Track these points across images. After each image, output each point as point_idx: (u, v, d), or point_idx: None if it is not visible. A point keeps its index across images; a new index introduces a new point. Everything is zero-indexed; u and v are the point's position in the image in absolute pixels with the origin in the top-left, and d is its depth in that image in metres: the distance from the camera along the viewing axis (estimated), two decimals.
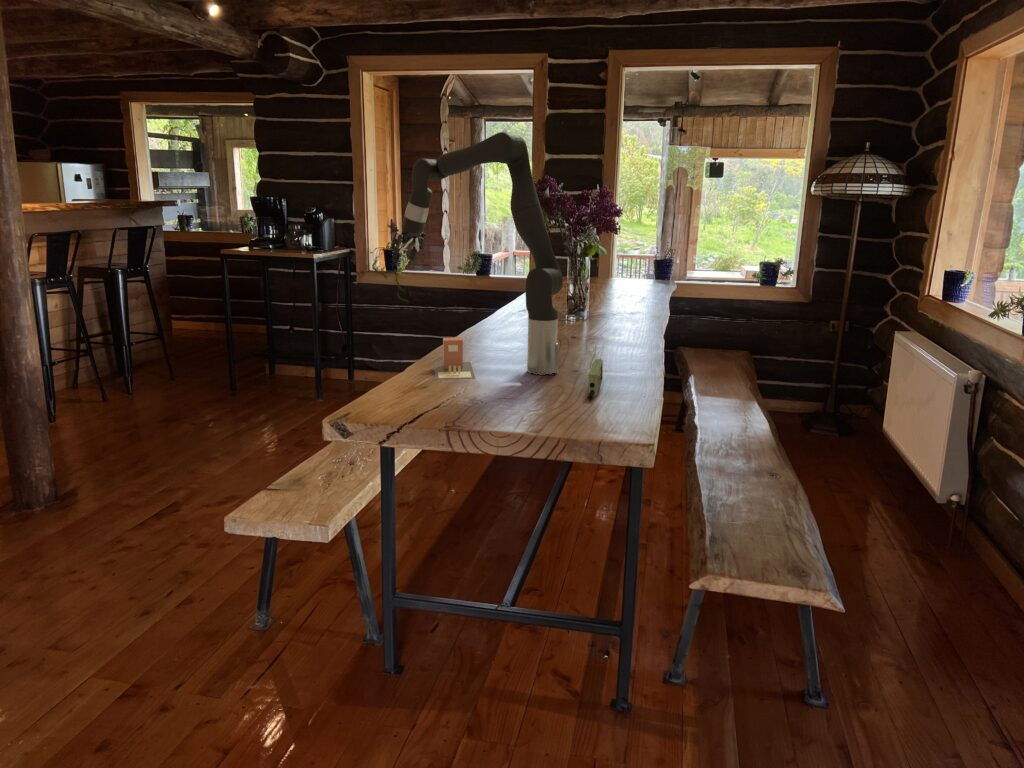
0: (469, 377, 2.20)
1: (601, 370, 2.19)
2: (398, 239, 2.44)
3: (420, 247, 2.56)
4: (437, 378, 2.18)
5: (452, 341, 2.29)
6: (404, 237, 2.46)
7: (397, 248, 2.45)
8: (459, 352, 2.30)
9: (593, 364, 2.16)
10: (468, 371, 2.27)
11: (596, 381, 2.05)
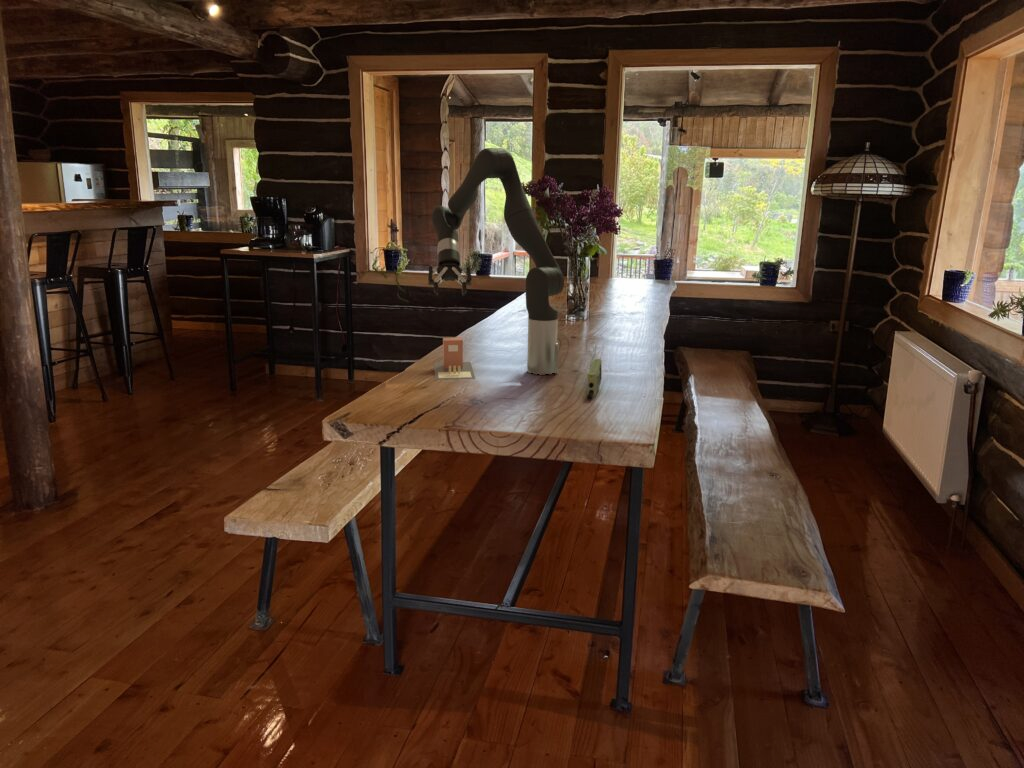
0: (469, 377, 2.20)
1: (600, 370, 2.19)
2: None
3: (468, 279, 2.41)
4: (437, 378, 2.18)
5: (452, 341, 2.29)
6: (437, 269, 2.42)
7: (430, 277, 2.40)
8: (459, 352, 2.30)
9: (592, 364, 2.16)
10: (468, 371, 2.27)
11: (595, 381, 2.05)
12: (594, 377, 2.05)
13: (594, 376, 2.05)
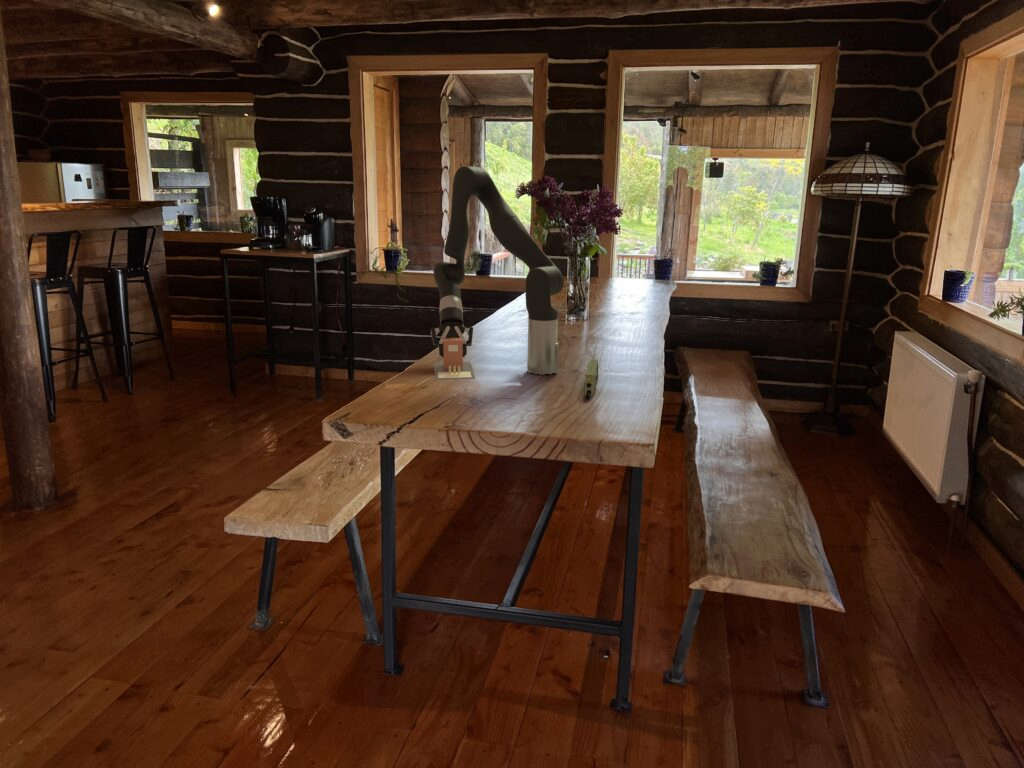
0: (469, 377, 2.20)
1: (597, 370, 2.19)
2: (431, 332, 2.33)
3: (468, 340, 2.33)
4: (437, 378, 2.18)
5: (452, 341, 2.29)
6: (439, 330, 2.34)
7: (435, 339, 2.32)
8: (459, 352, 2.30)
9: (589, 364, 2.16)
10: (468, 371, 2.27)
11: (593, 381, 2.05)
12: (592, 377, 2.05)
13: (592, 376, 2.05)
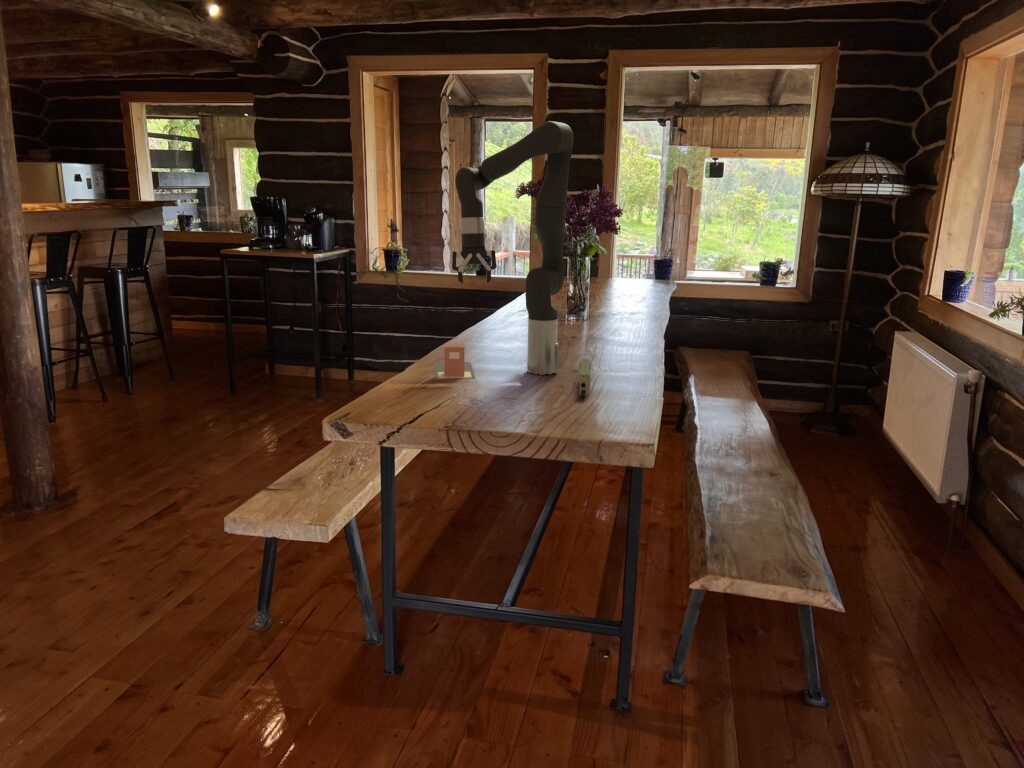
0: (469, 377, 2.20)
1: None
2: (452, 256, 2.33)
3: (492, 266, 2.36)
4: (437, 378, 2.18)
5: (453, 348, 2.18)
6: (461, 254, 2.34)
7: (454, 266, 2.34)
8: (460, 359, 2.20)
9: (582, 364, 2.16)
10: (468, 371, 2.27)
11: (587, 381, 2.06)
12: (586, 377, 2.05)
13: (586, 376, 2.05)
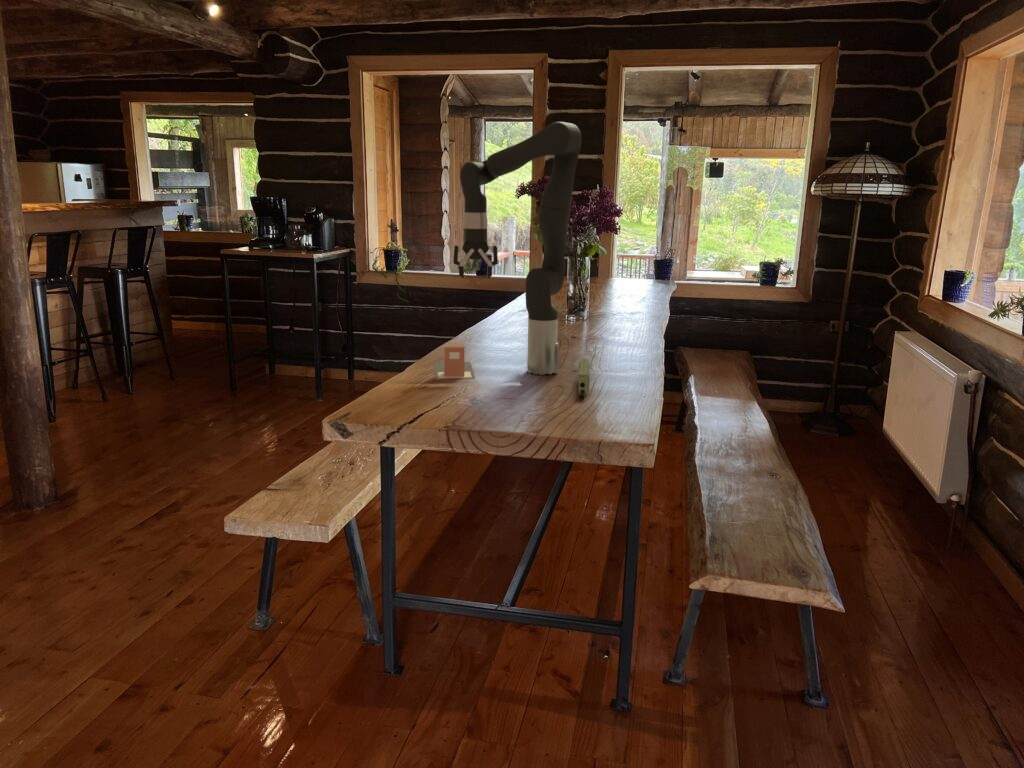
0: (469, 377, 2.20)
1: None
2: (454, 250, 2.33)
3: (494, 262, 2.35)
4: (437, 378, 2.18)
5: (453, 348, 2.18)
6: (463, 248, 2.33)
7: (455, 260, 2.33)
8: (460, 359, 2.20)
9: (581, 364, 2.16)
10: (468, 371, 2.27)
11: (586, 381, 2.06)
12: (585, 377, 2.05)
13: (585, 376, 2.05)
